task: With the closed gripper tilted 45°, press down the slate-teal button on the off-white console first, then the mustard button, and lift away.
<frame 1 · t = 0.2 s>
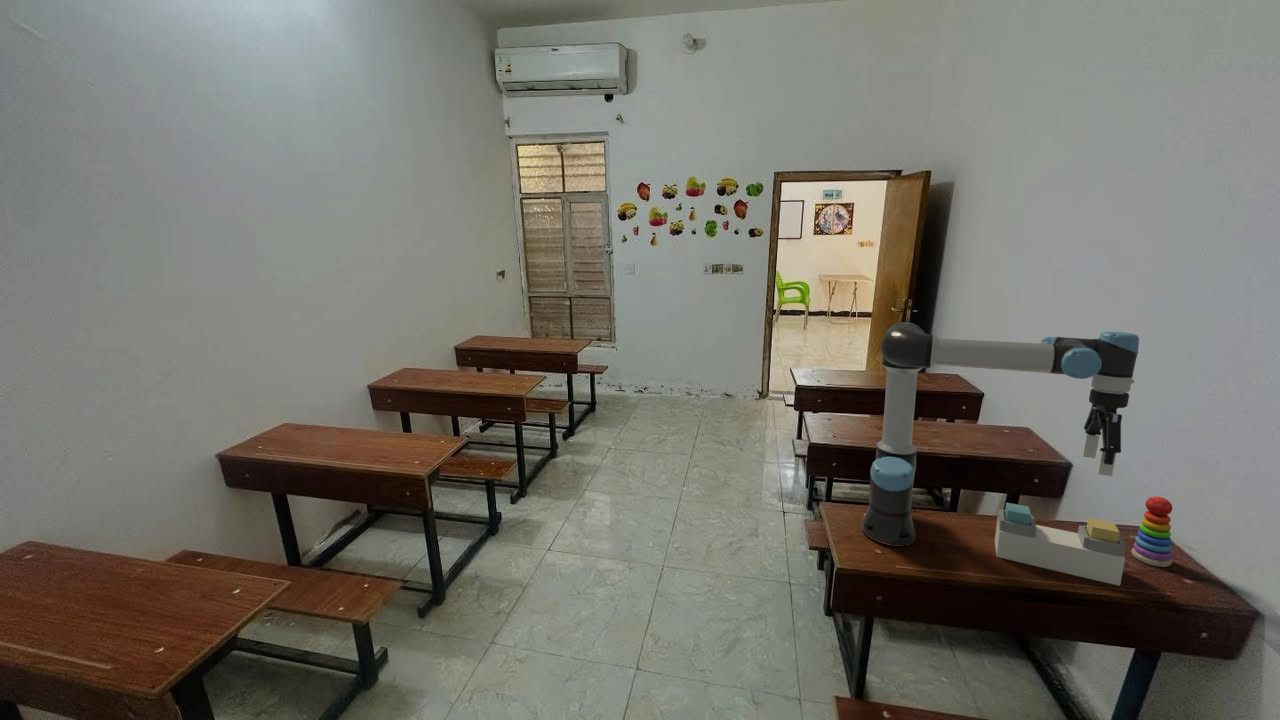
hand: (1096, 465, 134), 27 cm above the table, tool pointing down, fingers open, 13 cm apart
teal button: (1017, 514, 140), point 12 cm above the table, slide at 0.0 cm
mustard button: (1102, 530, 130), point 12 cm above the table, slide at 0.0 cm
button console: (1052, 561, 137), on the table
stacking toy: (1150, 560, 137), on the table
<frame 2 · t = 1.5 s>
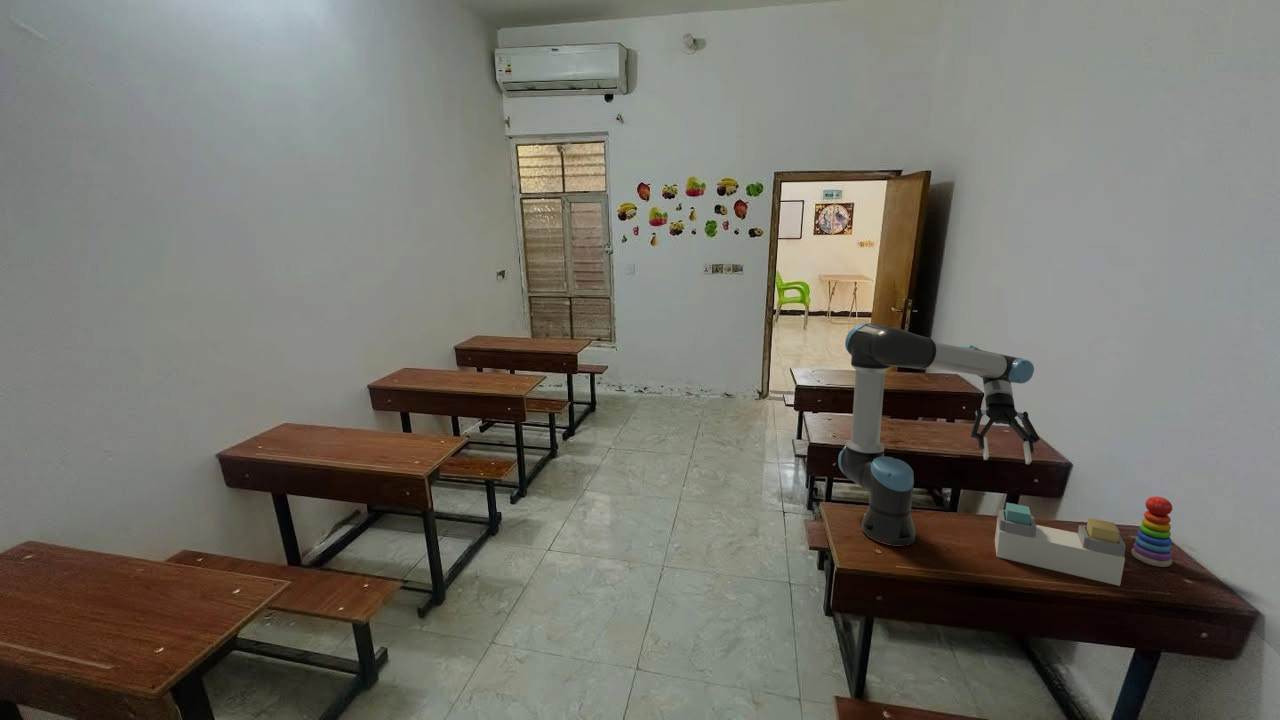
hand: (1007, 460, 150), 23 cm above the table, tool tilted 45°, fingers open, 10 cm apart
nothing on the table moved.
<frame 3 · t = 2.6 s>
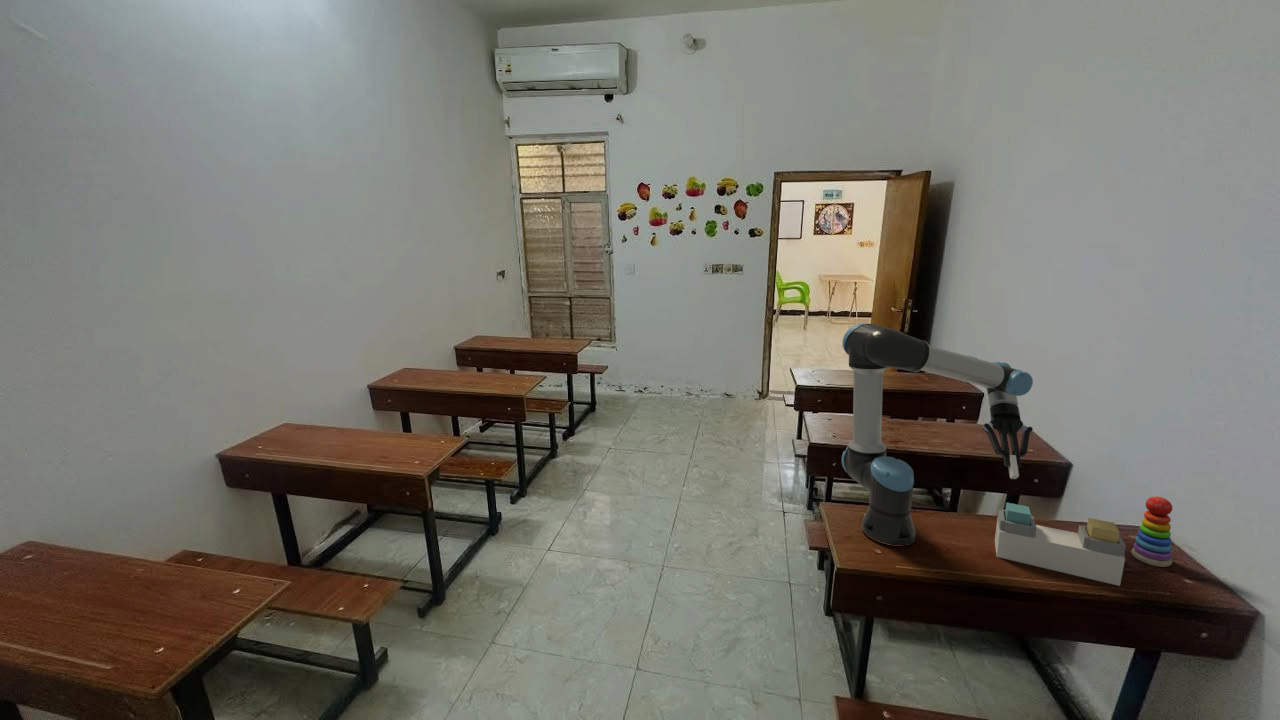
hand: (1014, 477, 146), 20 cm above the table, tool tilted 45°, fingers closed
nothing on the table moved.
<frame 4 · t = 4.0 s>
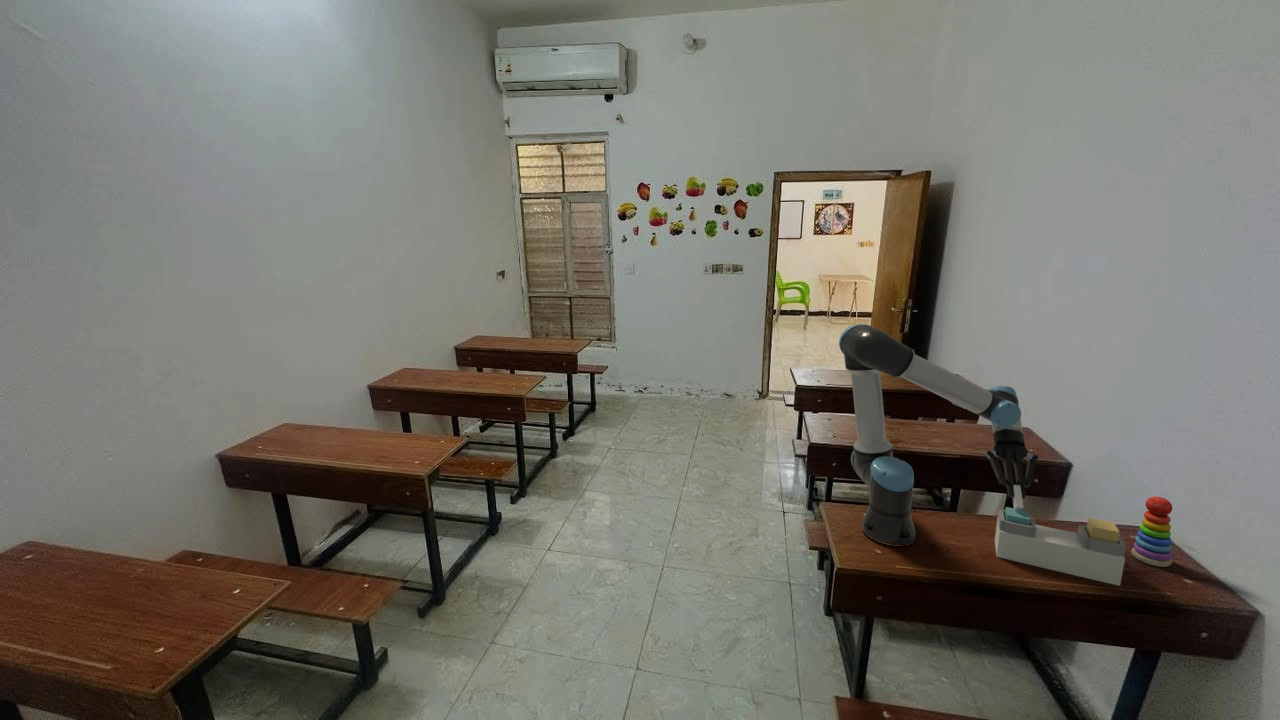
hand: (1018, 508, 140), 14 cm above the table, tool tilted 45°, fingers closed
teal button: (1017, 518, 140), point 11 cm above the table, slide at 1.4 cm, touching gripper
everything else where it was.
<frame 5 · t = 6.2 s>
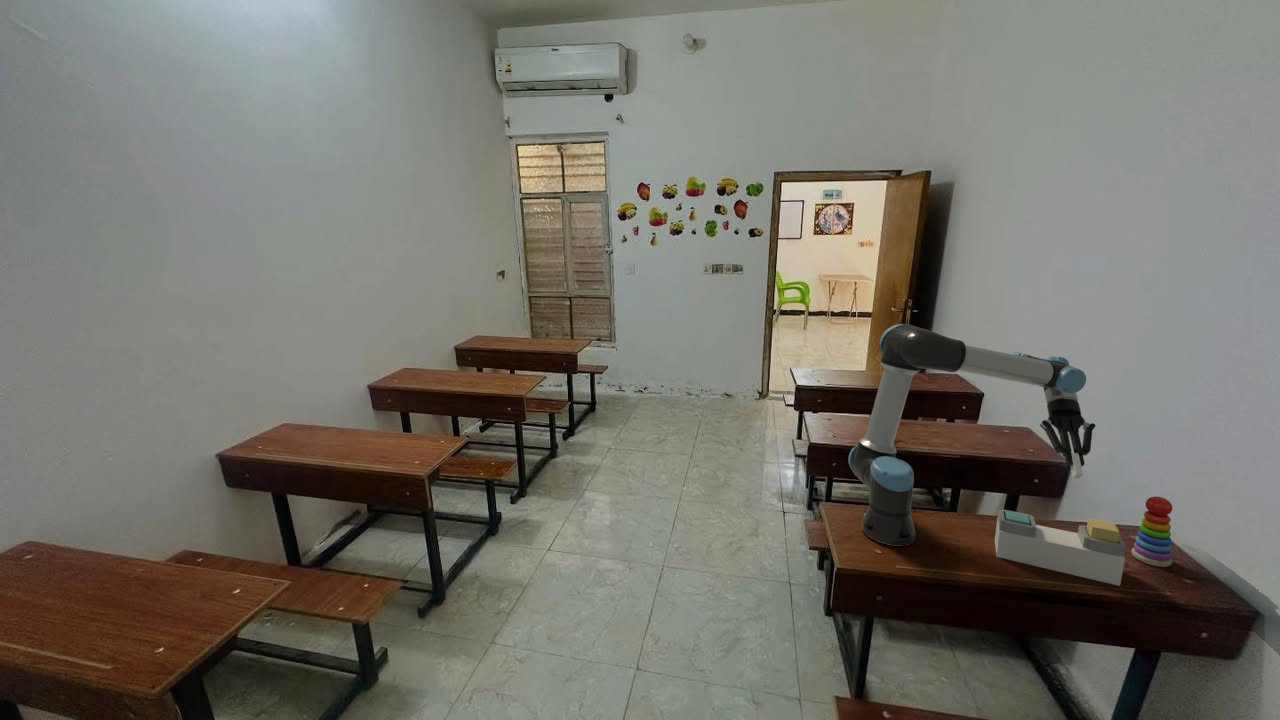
hand: (1078, 476, 139), 22 cm above the table, tool tilted 45°, fingers closed
teal button: (1016, 522, 140), point 10 cm above the table, slide at 2.5 cm, touching button console
everything else where it was.
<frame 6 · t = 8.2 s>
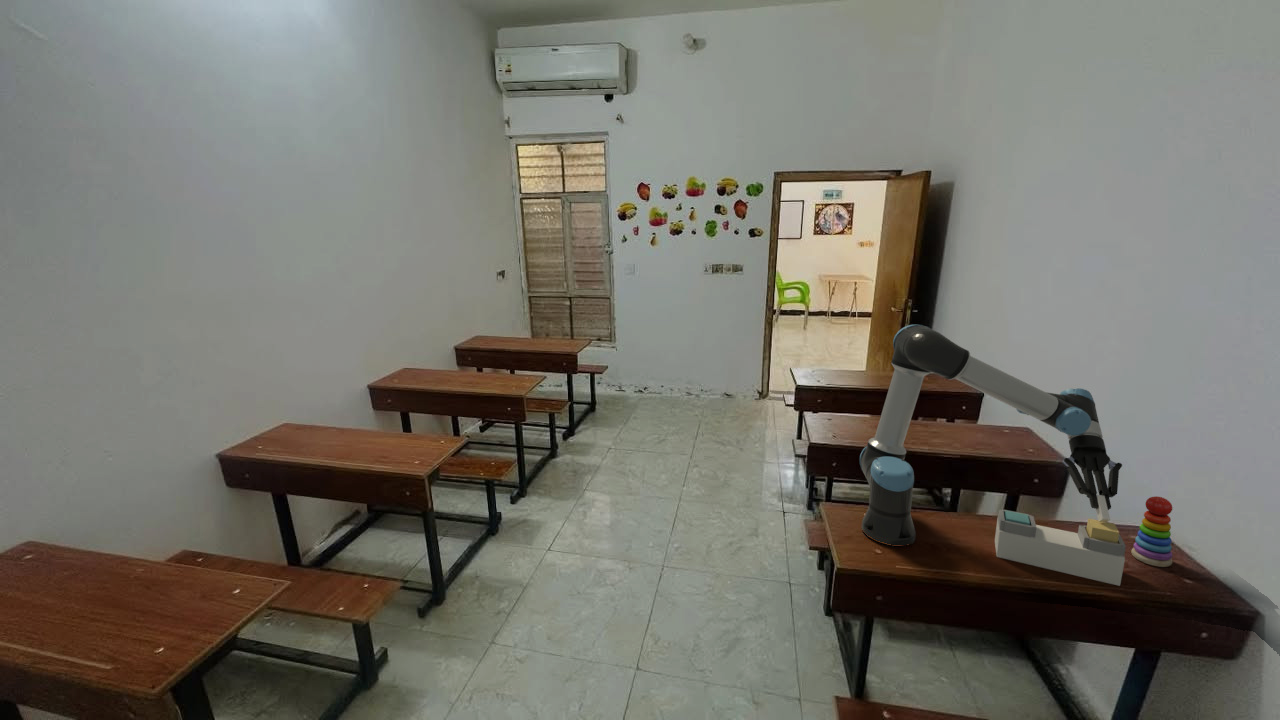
hand: (1104, 520, 130), 15 cm above the table, tool tilted 45°, fingers closed
mustard button: (1102, 531, 130), point 12 cm above the table, slide at 0.2 cm, touching gripper
everything else where it was.
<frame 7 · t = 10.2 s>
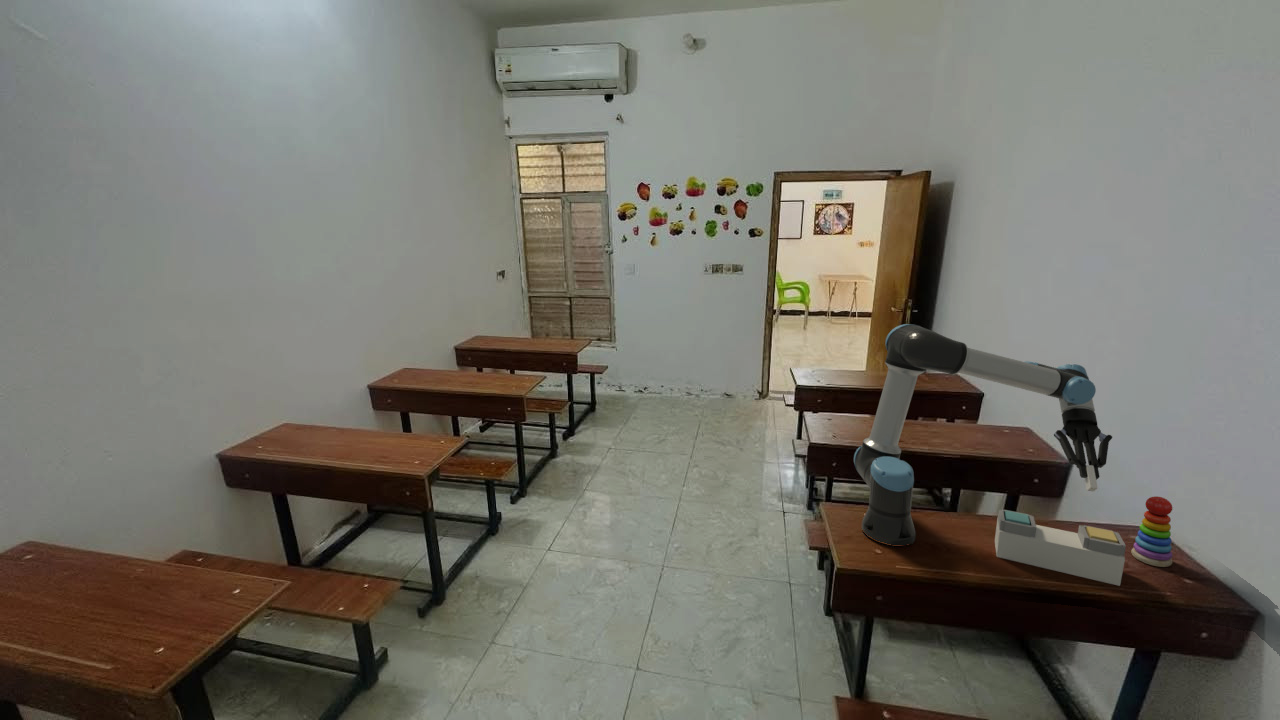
hand: (1092, 489, 134), 21 cm above the table, tool tilted 45°, fingers closed
mustard button: (1100, 539, 131), point 10 cm above the table, slide at 2.5 cm, touching button console
everything else where it was.
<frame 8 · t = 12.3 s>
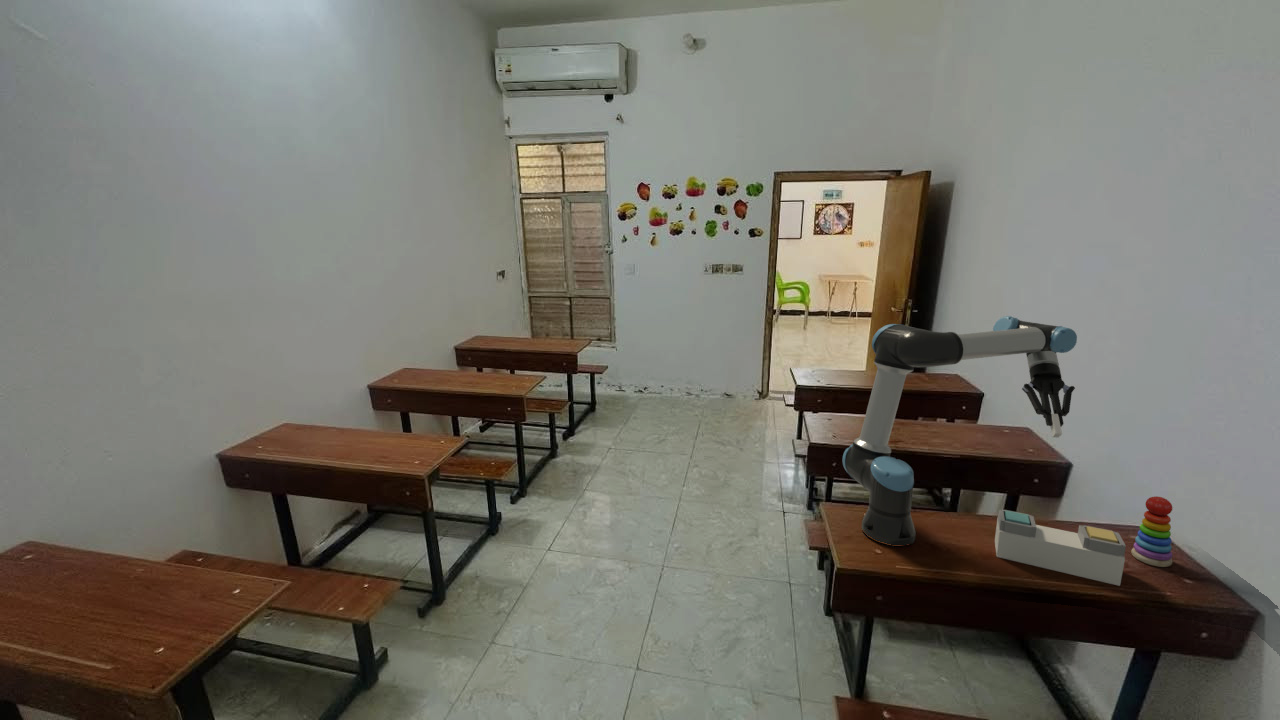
hand: (1057, 435, 144), 32 cm above the table, tool tilted 45°, fingers closed
nothing on the table moved.
at the end: teal button slide at 2.5 cm; mustard button slide at 2.5 cm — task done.
